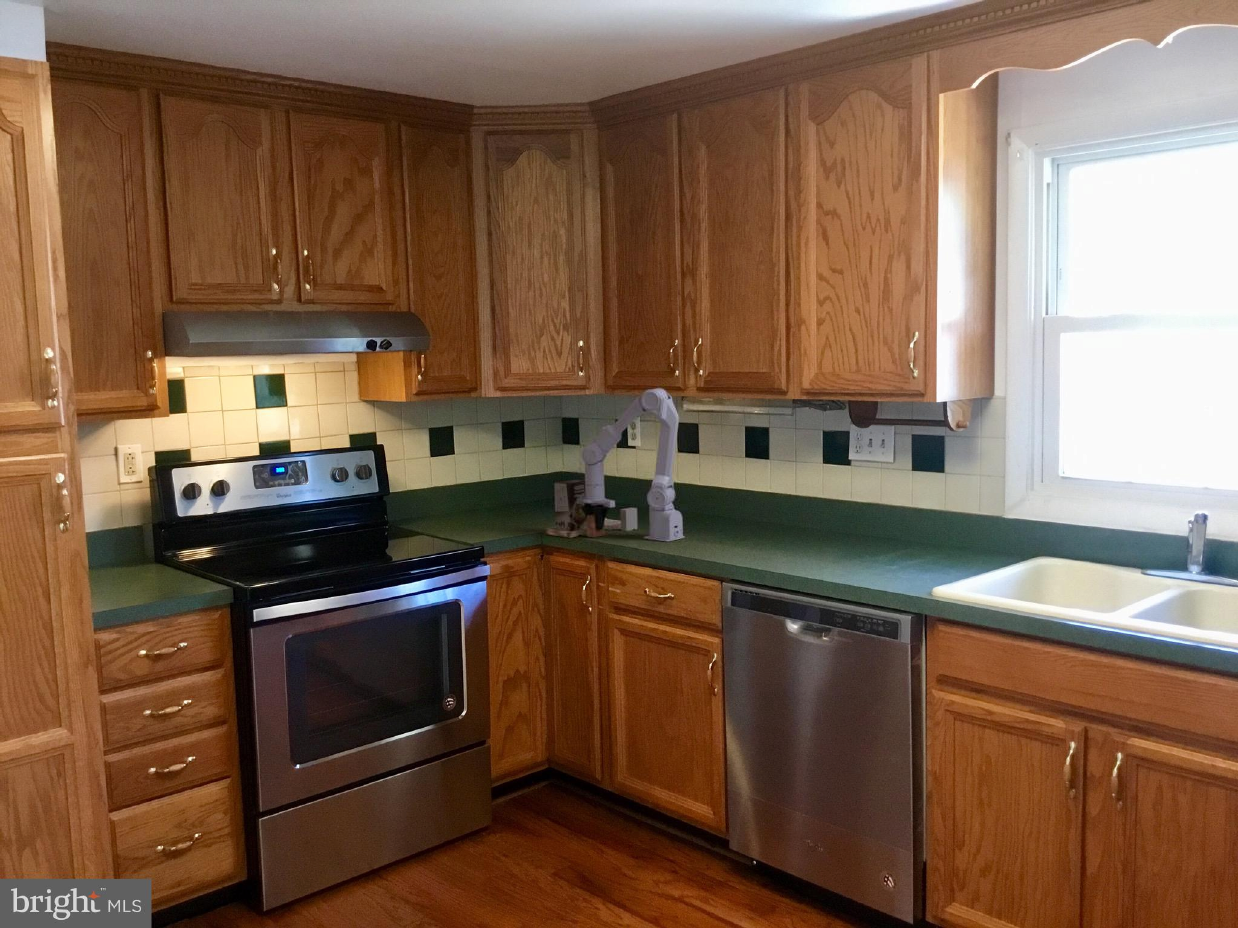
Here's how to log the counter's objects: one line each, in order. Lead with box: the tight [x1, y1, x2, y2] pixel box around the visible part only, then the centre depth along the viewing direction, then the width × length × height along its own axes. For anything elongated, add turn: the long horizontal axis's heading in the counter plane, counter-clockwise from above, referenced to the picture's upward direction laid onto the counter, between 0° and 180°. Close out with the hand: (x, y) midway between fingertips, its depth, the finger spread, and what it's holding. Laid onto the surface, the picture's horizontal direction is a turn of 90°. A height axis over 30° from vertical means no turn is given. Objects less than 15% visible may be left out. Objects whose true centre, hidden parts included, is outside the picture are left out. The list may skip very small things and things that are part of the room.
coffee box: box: [554, 479, 587, 532], centre depth 334 cm, size 9×6×16 cm
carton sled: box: [545, 514, 606, 539], centre depth 332 cm, size 16×13×6 cm
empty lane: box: [605, 507, 639, 532], centre depth 343 cm, size 16×8×6 cm, turn 46°
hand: (596, 529), depth 328 cm, fingers closed on carton sled, 2 cm apart
